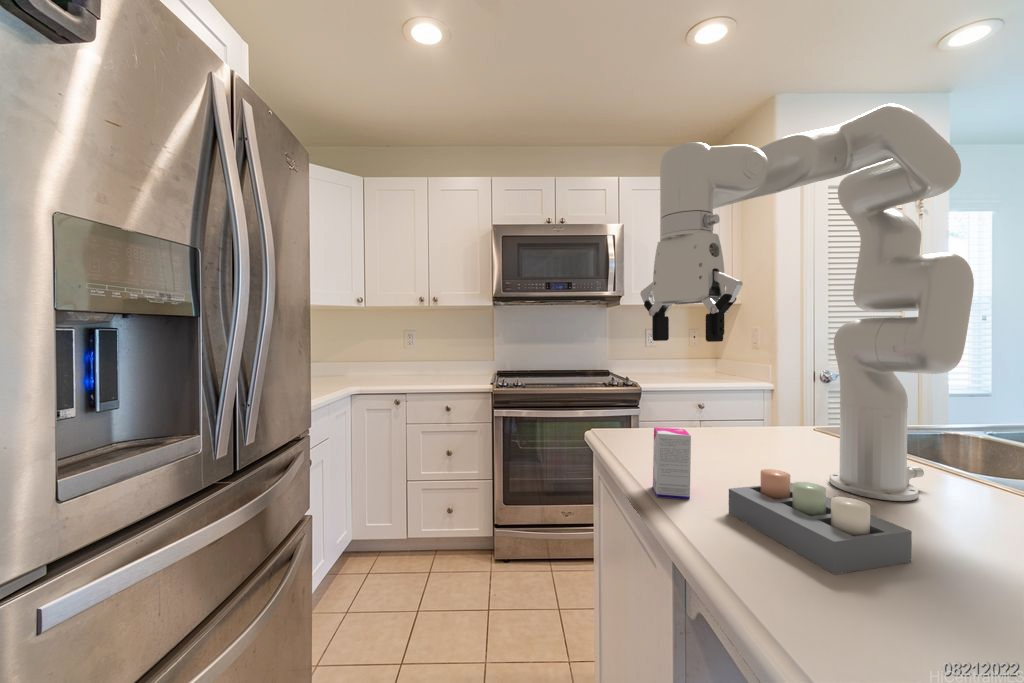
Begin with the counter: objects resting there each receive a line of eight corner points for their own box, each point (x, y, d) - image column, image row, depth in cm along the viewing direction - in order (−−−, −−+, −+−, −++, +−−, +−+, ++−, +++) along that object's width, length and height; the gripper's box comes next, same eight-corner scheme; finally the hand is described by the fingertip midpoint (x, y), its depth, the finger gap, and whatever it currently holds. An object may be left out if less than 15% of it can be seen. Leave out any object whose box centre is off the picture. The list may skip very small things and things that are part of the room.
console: (790, 506, 72) (790, 482, 72) (911, 562, 54) (911, 531, 54) (728, 513, 69) (728, 488, 69) (834, 574, 52) (834, 541, 52)
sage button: (808, 507, 64) (808, 480, 64) (833, 518, 60) (833, 490, 60) (785, 509, 63) (785, 483, 63) (809, 521, 59) (810, 492, 59)
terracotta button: (775, 492, 70) (775, 468, 70) (796, 502, 66) (796, 476, 66) (754, 494, 69) (754, 470, 69) (774, 504, 65) (774, 478, 65)
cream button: (847, 524, 58) (847, 495, 58) (878, 538, 54) (878, 507, 54) (823, 527, 57) (823, 498, 57) (852, 542, 53) (853, 510, 53)
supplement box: (691, 500, 75) (691, 435, 74) (656, 497, 76) (655, 433, 76) (685, 488, 80) (685, 427, 80) (652, 486, 82) (652, 426, 81)
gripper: (756, 219, 60) (755, 341, 60) (657, 242, 75) (657, 340, 75) (723, 212, 56) (723, 342, 57) (626, 238, 71) (626, 340, 72)
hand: (685, 341), depth 66 cm, fingers open, 9 cm apart
